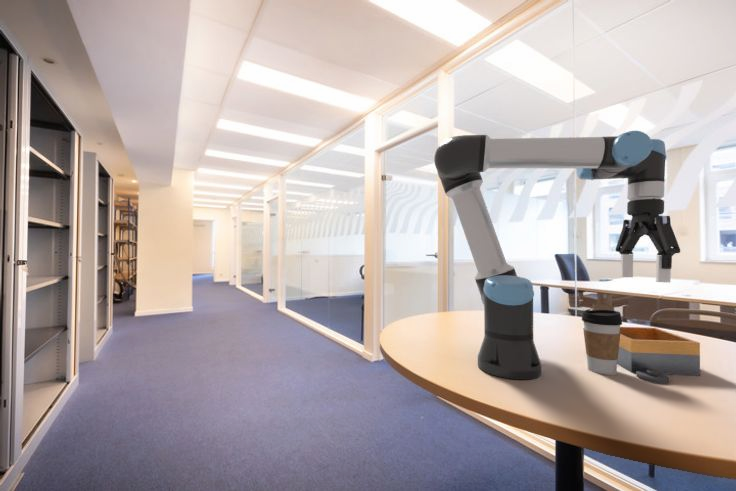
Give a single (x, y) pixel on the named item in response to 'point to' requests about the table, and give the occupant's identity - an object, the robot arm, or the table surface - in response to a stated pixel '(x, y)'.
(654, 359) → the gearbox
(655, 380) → the disc
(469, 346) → the table surface
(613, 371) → the coffee cup
